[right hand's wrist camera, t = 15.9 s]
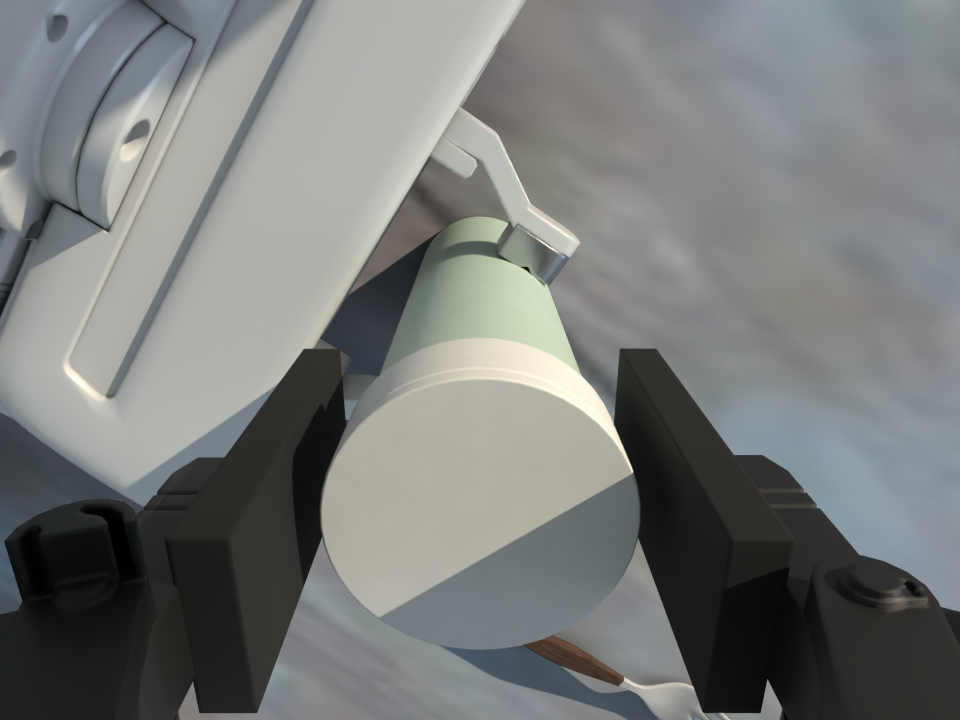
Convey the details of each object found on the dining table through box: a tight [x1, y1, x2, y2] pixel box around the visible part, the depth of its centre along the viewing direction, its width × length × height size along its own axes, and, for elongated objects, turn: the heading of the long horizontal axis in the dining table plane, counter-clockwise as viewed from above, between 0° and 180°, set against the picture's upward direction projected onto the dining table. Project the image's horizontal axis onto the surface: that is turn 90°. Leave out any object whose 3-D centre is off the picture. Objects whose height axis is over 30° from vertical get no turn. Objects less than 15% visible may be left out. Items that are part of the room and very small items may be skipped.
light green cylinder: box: [379, 217, 581, 376], centre depth 18 cm, size 4×4×16 cm
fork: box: [524, 635, 730, 720], centre depth 31 cm, size 3×16×2 cm, turn 58°
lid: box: [320, 338, 641, 650], centre depth 11 cm, size 5×5×2 cm
